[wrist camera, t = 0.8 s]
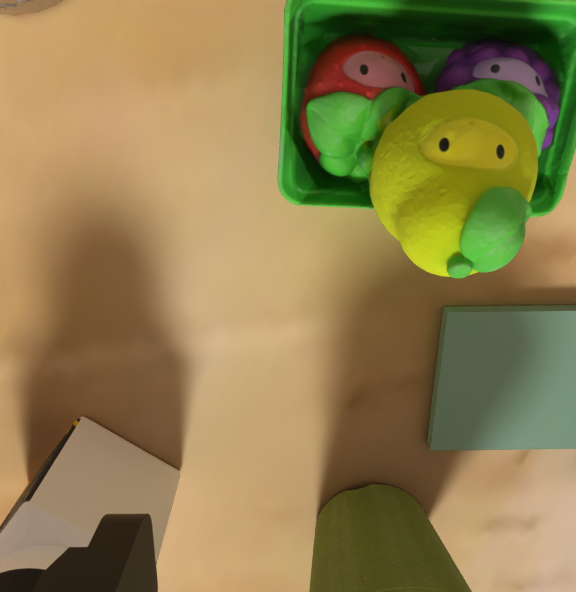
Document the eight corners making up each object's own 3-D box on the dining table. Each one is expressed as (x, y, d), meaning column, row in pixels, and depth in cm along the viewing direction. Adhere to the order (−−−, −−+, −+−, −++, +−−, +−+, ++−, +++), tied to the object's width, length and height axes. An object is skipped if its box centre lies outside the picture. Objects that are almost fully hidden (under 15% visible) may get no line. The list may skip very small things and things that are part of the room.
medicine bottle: (81, 411, 29) (-44, 608, 18) (183, 470, 31) (127, 683, 19) (25, 486, 31) (-118, 705, 20) (124, 537, 33) (42, 765, 21)
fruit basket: (543, 20, 22) (790, -53, 11) (500, 219, 25) (660, 307, 14) (284, 5, 21) (287, -86, 11) (276, 208, 25) (272, 290, 14)
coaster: (443, 306, 27) (447, 312, 26) (608, 304, 27) (617, 310, 26) (426, 441, 30) (430, 450, 29) (573, 439, 30) (580, 448, 29)
